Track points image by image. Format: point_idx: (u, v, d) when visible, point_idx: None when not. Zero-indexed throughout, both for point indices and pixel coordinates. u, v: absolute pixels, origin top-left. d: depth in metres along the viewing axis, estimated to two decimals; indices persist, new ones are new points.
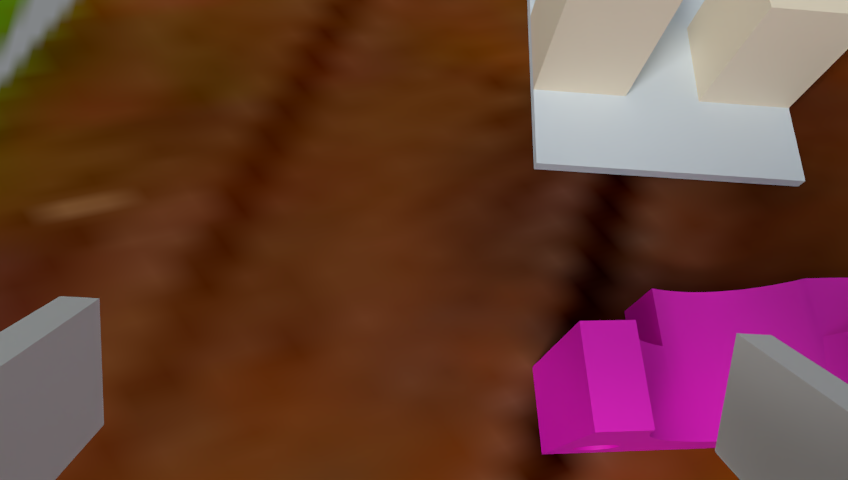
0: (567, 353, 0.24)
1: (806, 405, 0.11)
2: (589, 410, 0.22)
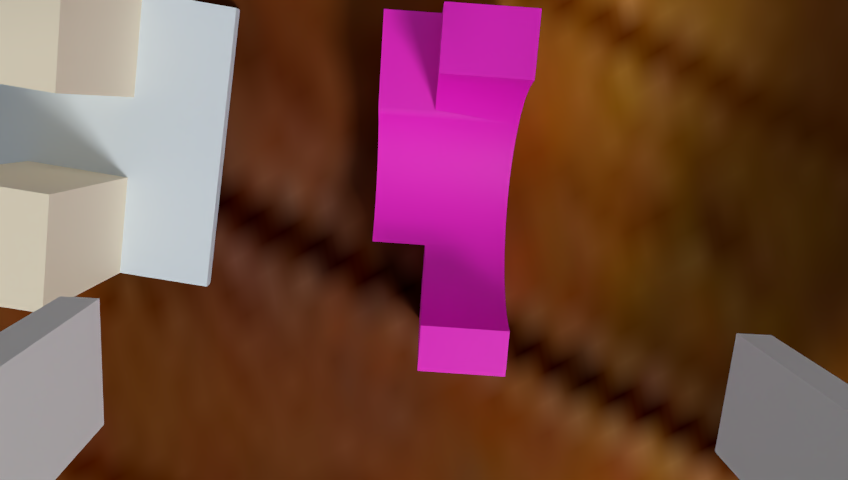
0: None
1: (806, 405, 0.11)
2: (486, 372, 0.28)
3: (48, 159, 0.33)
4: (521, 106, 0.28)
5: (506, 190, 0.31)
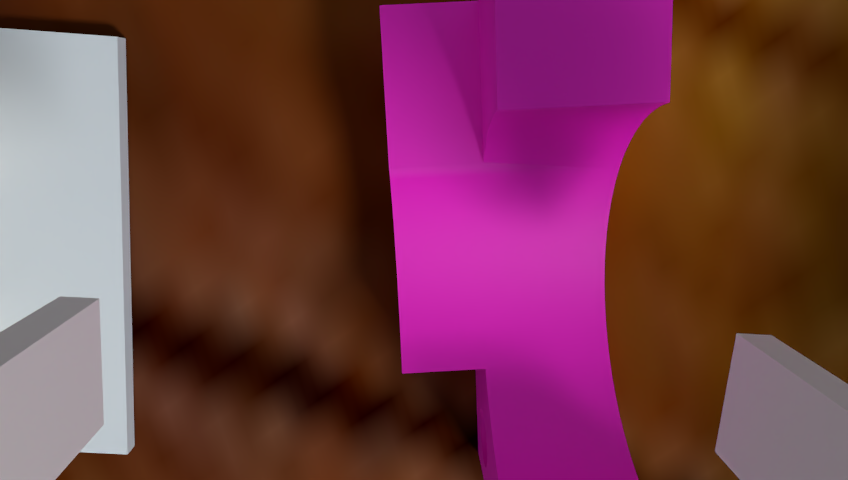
0: None
1: (806, 405, 0.11)
2: None
3: None
4: (627, 141, 0.17)
5: (601, 267, 0.20)
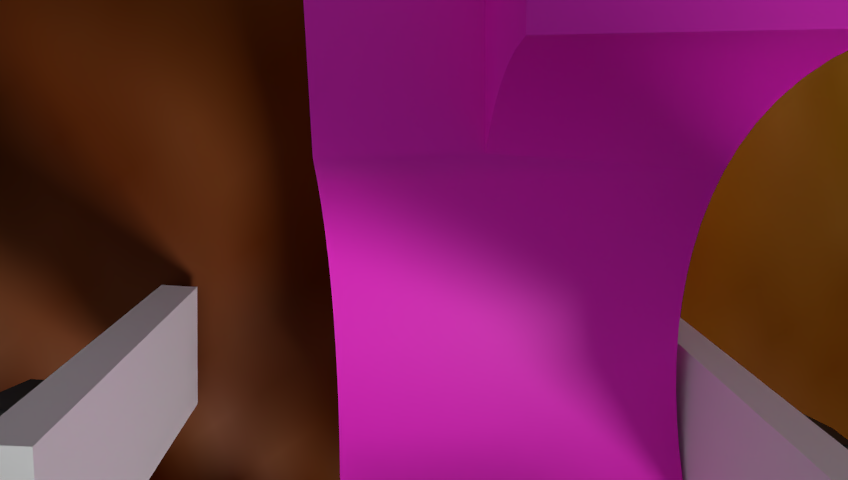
0: None
1: (688, 374, 0.12)
2: None
3: None
4: (754, 120, 0.09)
5: (673, 332, 0.12)
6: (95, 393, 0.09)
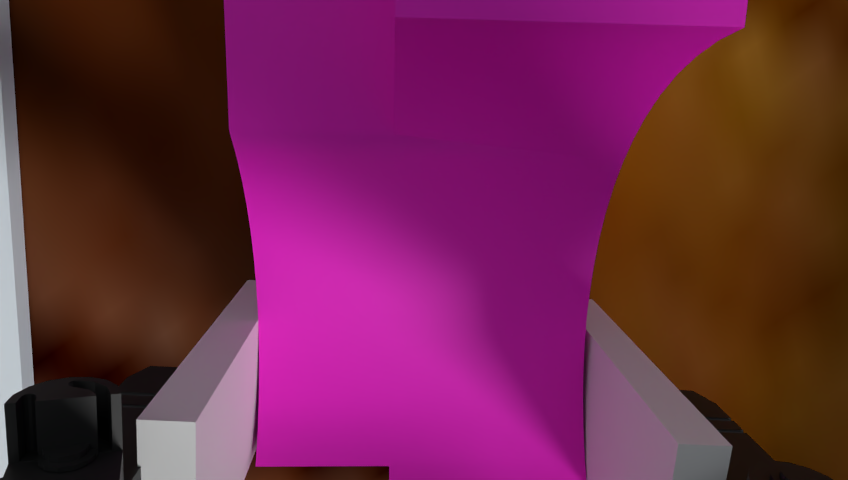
0: None
1: (589, 354, 0.13)
2: None
3: None
4: (643, 113, 0.10)
5: (582, 316, 0.13)
6: (227, 377, 0.10)
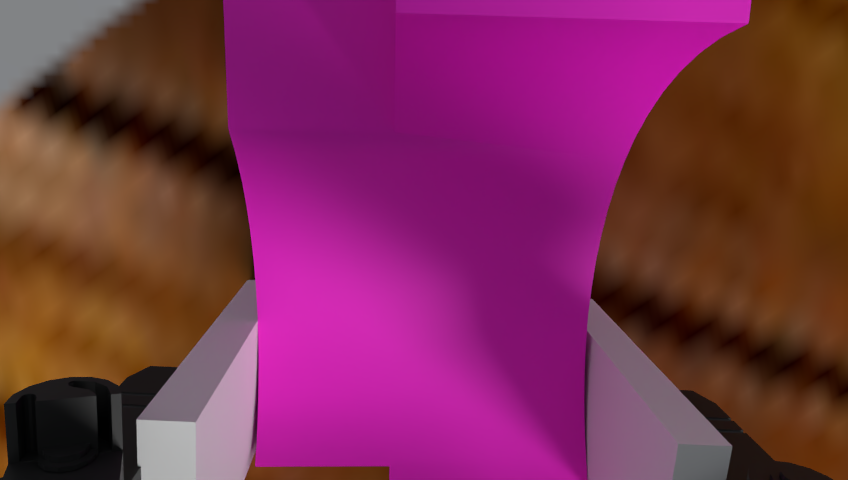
0: None
1: (589, 354, 0.13)
2: None
3: None
4: (645, 111, 0.10)
5: (583, 316, 0.12)
6: (226, 377, 0.10)
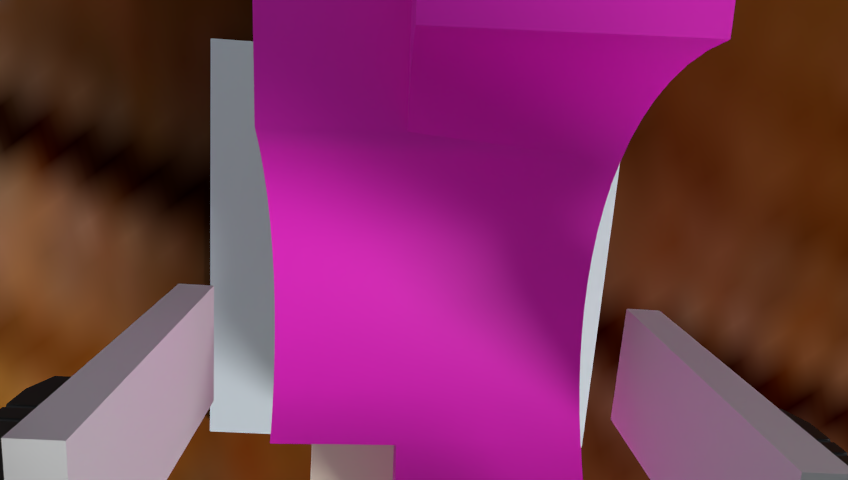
0: None
1: (669, 369, 0.12)
2: None
3: None
4: (639, 116, 0.10)
5: (580, 307, 0.13)
6: (121, 389, 0.09)
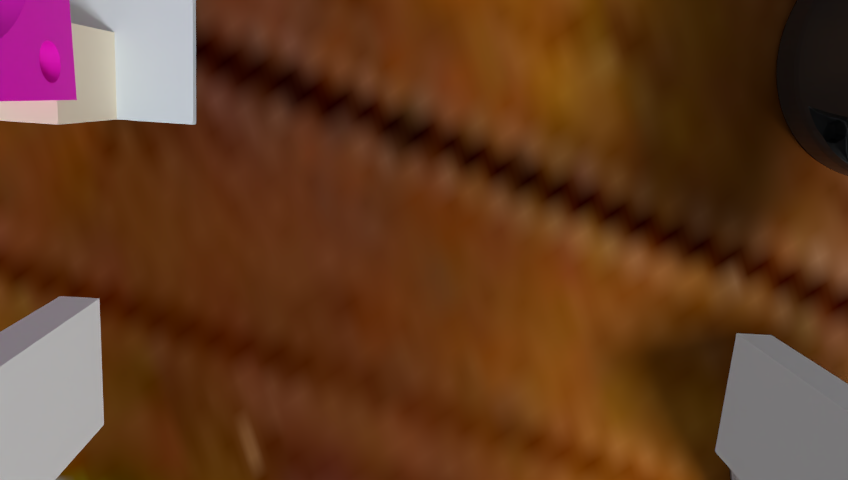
0: None
1: (806, 405, 0.11)
2: None
3: None
4: None
5: None
6: None
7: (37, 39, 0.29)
